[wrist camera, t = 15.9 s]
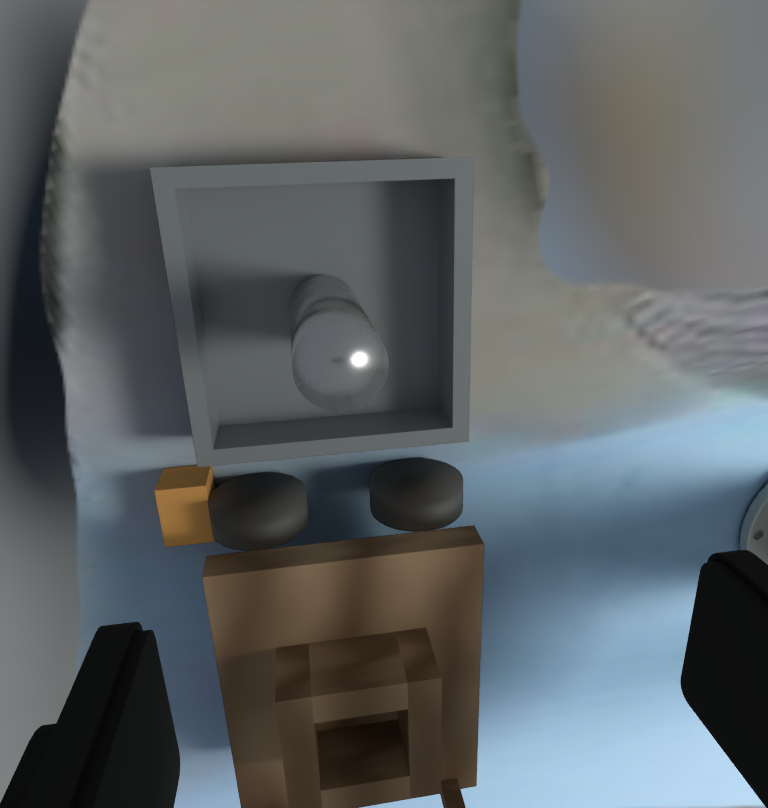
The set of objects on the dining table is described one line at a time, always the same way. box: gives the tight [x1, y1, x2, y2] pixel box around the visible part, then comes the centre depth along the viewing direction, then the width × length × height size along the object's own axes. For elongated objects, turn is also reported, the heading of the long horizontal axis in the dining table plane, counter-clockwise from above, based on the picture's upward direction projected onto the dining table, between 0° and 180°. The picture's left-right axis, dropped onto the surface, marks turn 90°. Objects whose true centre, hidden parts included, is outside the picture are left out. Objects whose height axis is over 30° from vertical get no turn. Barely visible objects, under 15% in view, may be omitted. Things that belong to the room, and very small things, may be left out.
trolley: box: [202, 458, 484, 808], centre depth 37 cm, size 16×24×19 cm, turn 2°
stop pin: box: [290, 274, 389, 412], centre depth 31 cm, size 4×4×12 cm
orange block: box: [155, 465, 215, 547], centre depth 39 cm, size 3×4×3 cm
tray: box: [150, 157, 474, 467], centre depth 35 cm, size 16×16×4 cm
